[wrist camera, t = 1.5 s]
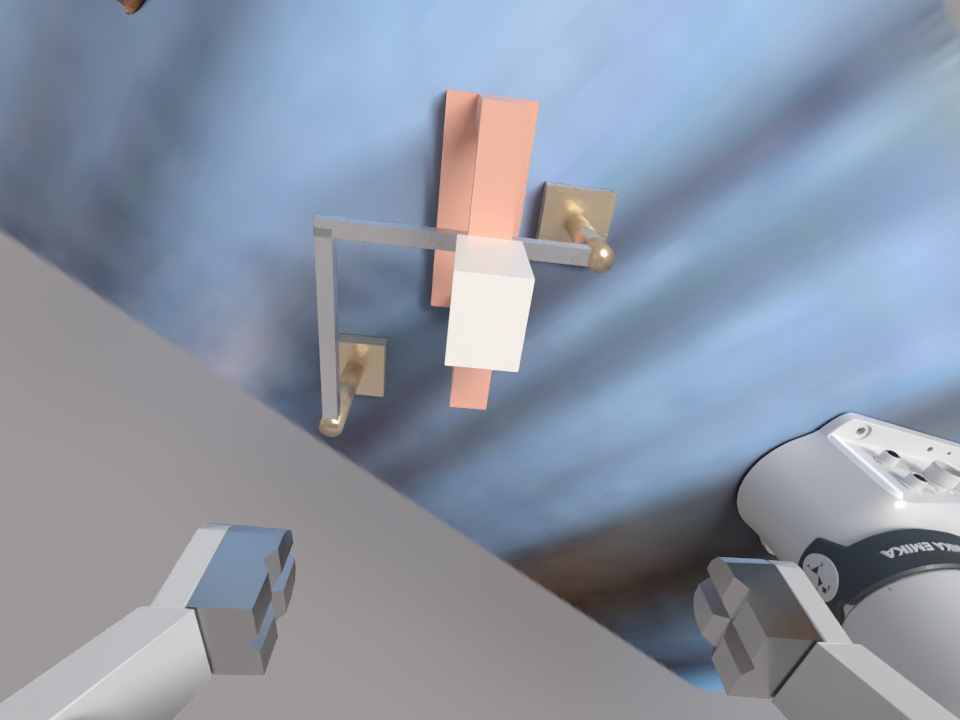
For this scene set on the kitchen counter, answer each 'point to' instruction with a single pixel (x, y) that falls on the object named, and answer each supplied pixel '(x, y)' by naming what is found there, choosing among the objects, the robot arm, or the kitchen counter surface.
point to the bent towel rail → (559, 239)
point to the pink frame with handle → (484, 238)
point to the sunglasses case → (131, 5)
